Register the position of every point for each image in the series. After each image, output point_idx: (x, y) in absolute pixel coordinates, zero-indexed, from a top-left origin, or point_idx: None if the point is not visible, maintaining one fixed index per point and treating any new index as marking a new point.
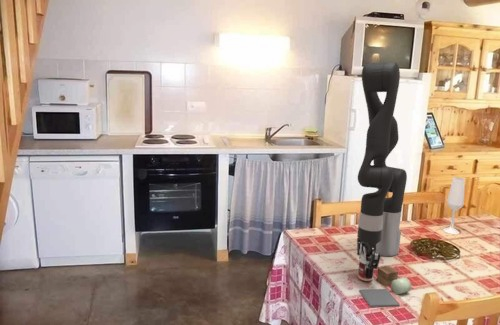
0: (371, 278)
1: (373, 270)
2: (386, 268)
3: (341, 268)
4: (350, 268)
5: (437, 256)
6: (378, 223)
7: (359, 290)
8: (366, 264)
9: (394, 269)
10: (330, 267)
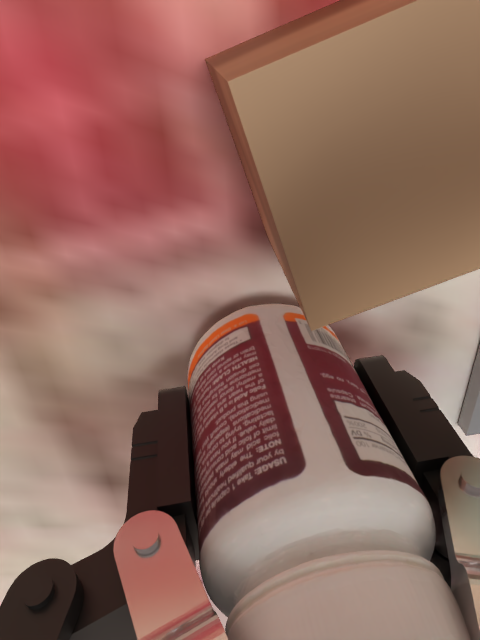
0: (334, 334)
1: (335, 375)
2: (362, 193)
3: (58, 497)
4: (33, 438)
5: None
6: None
7: (468, 430)
8: (440, 570)
9: (435, 6)
10: (64, 554)
